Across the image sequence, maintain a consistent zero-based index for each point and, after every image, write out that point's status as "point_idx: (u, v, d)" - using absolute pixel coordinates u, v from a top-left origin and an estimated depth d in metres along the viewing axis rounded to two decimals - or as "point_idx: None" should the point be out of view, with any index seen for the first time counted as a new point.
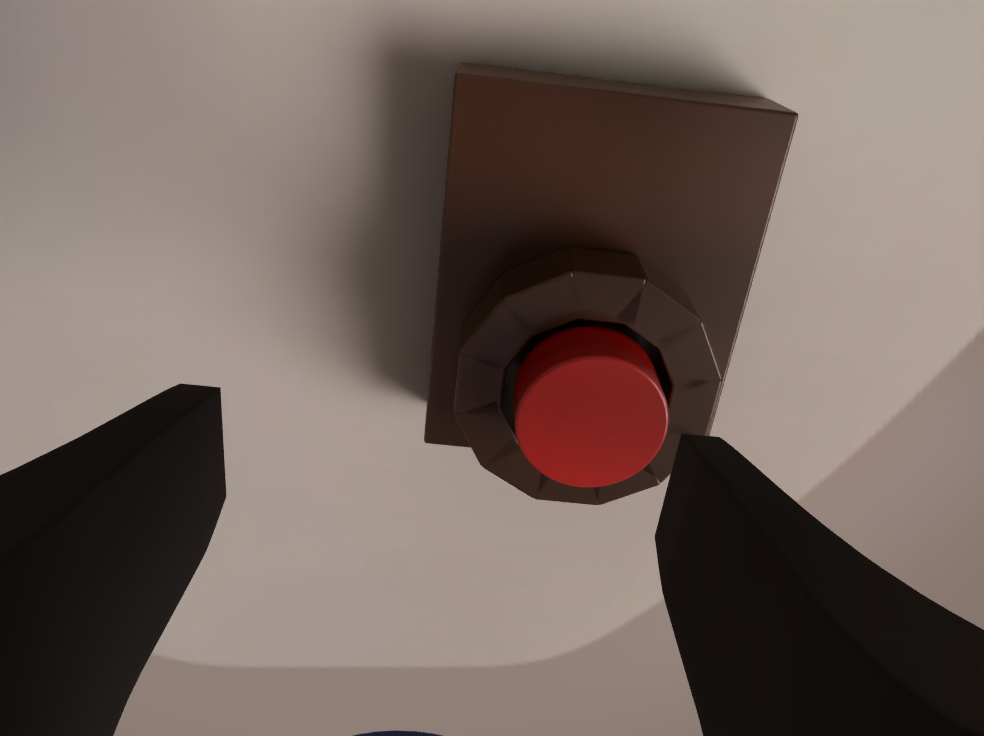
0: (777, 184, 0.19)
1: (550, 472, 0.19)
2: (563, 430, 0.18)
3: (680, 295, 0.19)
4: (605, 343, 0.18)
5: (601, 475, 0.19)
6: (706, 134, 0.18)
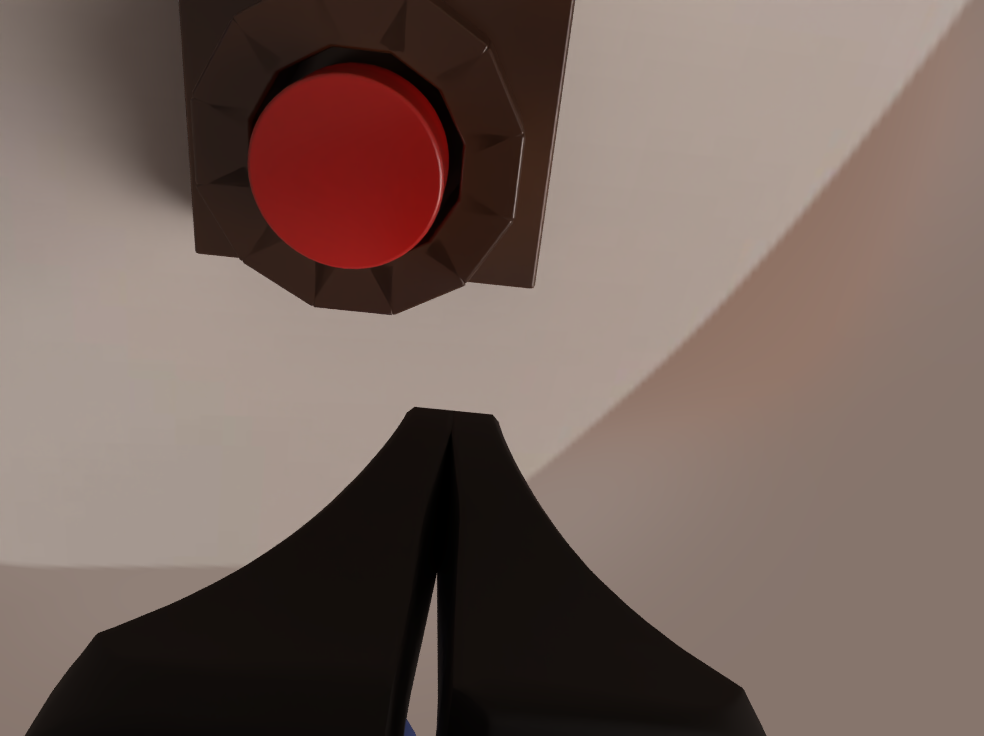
0: None
1: (303, 246, 0.15)
2: (310, 184, 0.14)
3: (469, 25, 0.15)
4: (359, 69, 0.14)
5: (367, 250, 0.15)
6: None
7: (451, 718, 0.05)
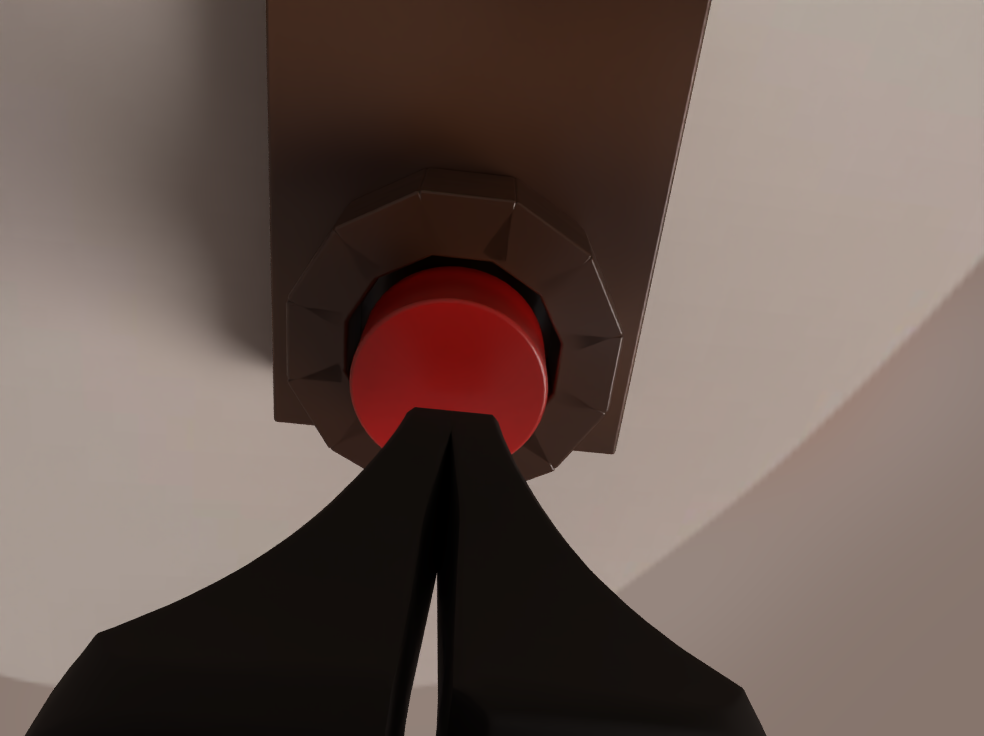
0: (691, 83, 0.15)
1: None
2: (412, 398, 0.14)
3: (568, 227, 0.15)
4: (464, 285, 0.14)
5: None
6: (595, 15, 0.14)
7: (451, 718, 0.05)
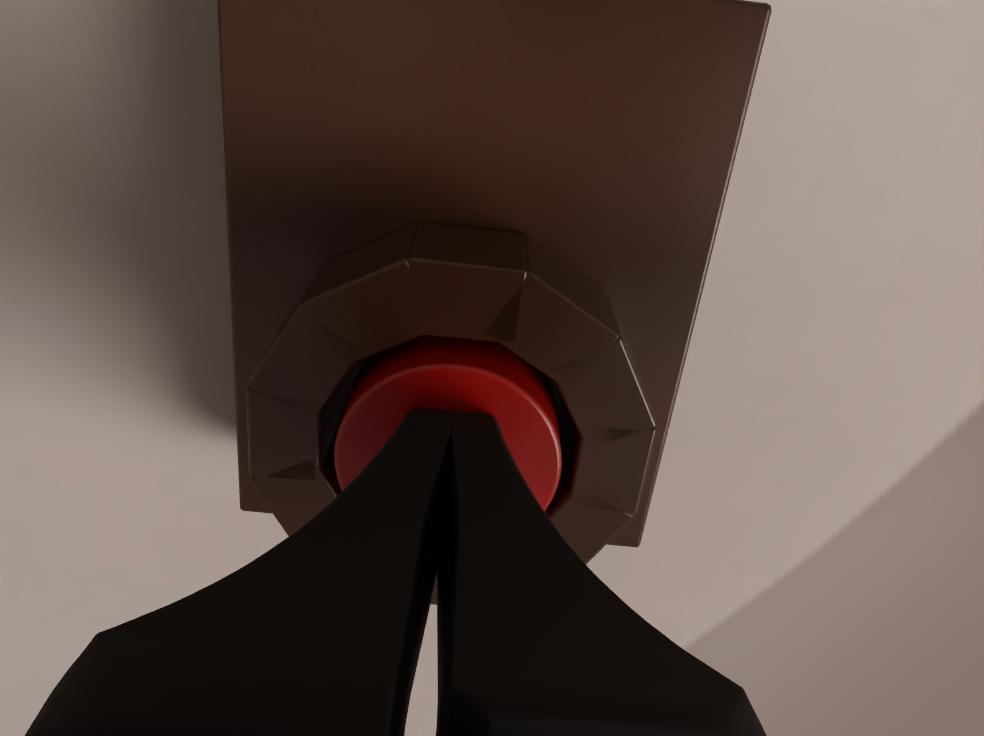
0: (740, 123, 0.12)
1: None
2: None
3: (590, 297, 0.12)
4: (465, 345, 0.12)
5: None
6: (625, 40, 0.12)
7: (451, 718, 0.05)
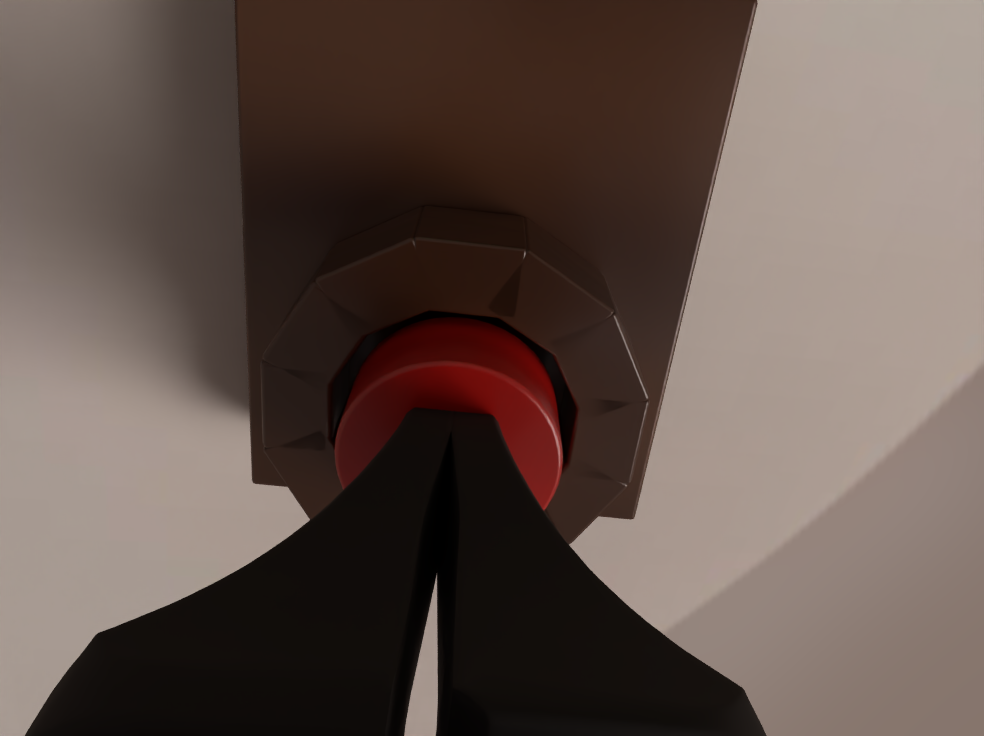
0: (728, 110, 0.13)
1: None
2: None
3: (586, 276, 0.13)
4: (466, 342, 0.12)
5: None
6: (619, 32, 0.12)
7: (451, 718, 0.05)
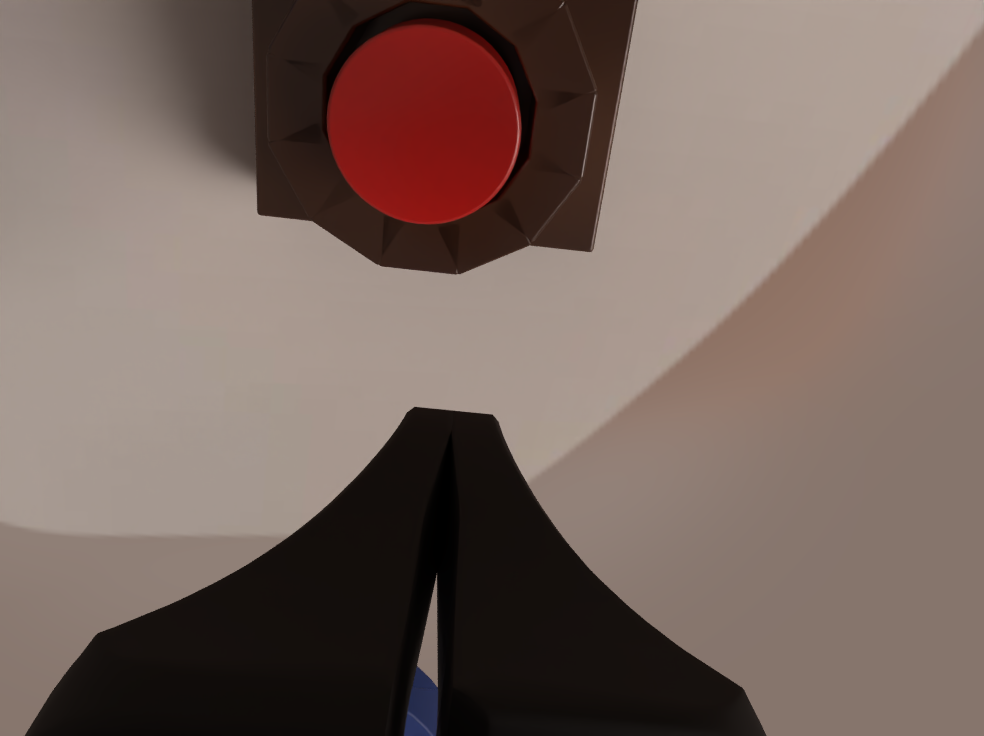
0: None
1: (378, 201, 0.15)
2: (388, 137, 0.14)
3: None
4: (439, 23, 0.14)
5: (442, 205, 0.15)
6: None
7: (451, 718, 0.05)
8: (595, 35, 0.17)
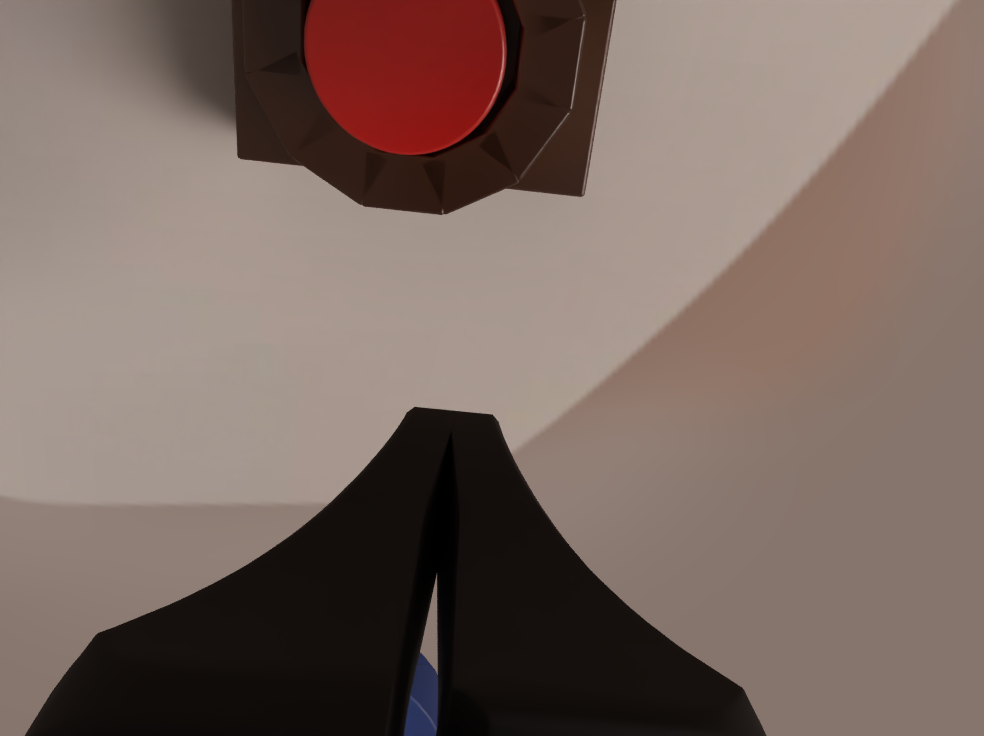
0: None
1: (358, 129, 0.14)
2: (367, 60, 0.14)
3: None
4: None
5: (424, 133, 0.14)
6: None
7: (450, 718, 0.05)
8: None
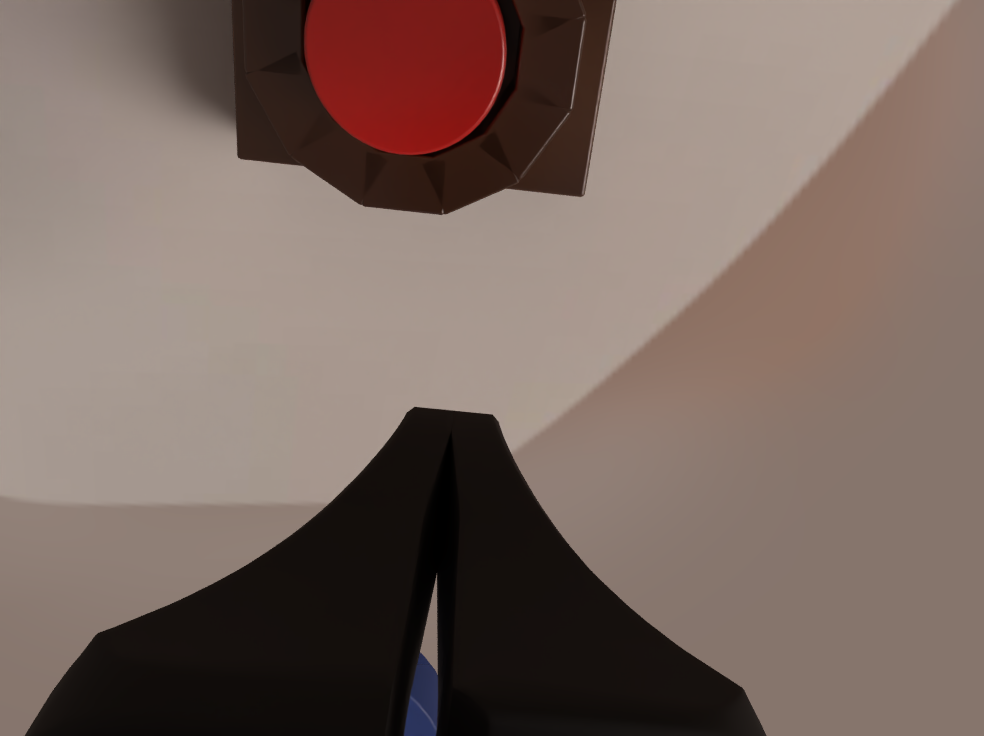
0: None
1: (358, 129, 0.14)
2: (367, 60, 0.14)
3: None
4: None
5: (424, 133, 0.14)
6: None
7: (450, 718, 0.05)
8: None
